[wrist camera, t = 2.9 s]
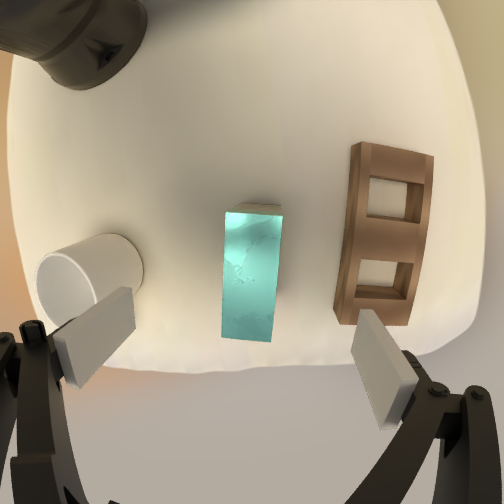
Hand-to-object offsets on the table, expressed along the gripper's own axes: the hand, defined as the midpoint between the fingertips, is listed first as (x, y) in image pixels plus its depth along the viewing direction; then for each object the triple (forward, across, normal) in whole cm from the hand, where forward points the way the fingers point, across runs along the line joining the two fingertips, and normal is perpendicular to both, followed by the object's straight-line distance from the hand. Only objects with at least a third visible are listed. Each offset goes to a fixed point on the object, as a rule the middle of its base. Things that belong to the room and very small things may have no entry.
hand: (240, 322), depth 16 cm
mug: (+16, -17, -5) cm, 24 cm away
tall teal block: (+16, 0, 0) cm, 16 cm away
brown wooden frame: (+16, +13, +3) cm, 21 cm away
